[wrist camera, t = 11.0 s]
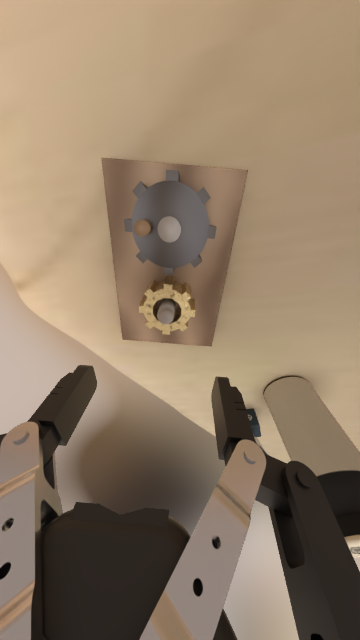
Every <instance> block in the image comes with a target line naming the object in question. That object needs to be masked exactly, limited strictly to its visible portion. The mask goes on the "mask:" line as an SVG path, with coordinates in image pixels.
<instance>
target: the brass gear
mask: <svg viewBox="0 0 360 640" xmlns="http://www.w3.org/2000/svg"><path fill="white" fill-rule="evenodd" d="M144 294H145V295H144V297H143V299H142V301H141V302H140V304H139V313H144V316H145V317H146V319H147V320H146V323H145V325H146V326H147V327H149V328H150V329H151V328H152V327H156V328H157V329H159V330H163V333H162V334H166V335H170V331H174V330H177V329H180V330H181V331H184V330H185V329H187V328H188V320H189V319H190V317H195V311H196V309H195V299H191V298H192V297H191V287H190V286H189V285H188V284H187V283H185V284H183V285H181V284H180V283H178V282H177V281H174V276H166V279H165V280H163V281H161V282H159V283H157V282H156V281H155V280H153V281H152V282H151V283H150V284H149V285H148V287H147V289H146V291H145V293H144ZM163 298H169V299H173V300H174V301H176V302H178V303H179V305H180V307H179V309H178V310H175V313H174V319H173V321H172V322H171V323H169V324H162V323H160V322H159V320H158V318H157V314H158V310H159V305H158V304H157V301H158V300H160V299H163Z"/></svg>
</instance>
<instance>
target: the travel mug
mask: <svg viewBox="0 0 360 640" xmlns="http://www.w3.org/2000/svg"><path fill="white" fill-rule="evenodd" d="M264 398H265V400H266V403H267V405H268V407H269V410H270V412H271V414H272V417H273V419H274V421H275V424H276V426H277V429H278V431H279V433H280V436H281V438H282V440H283V443H284V445H285V447H286V450H287V452H288V454H289V457H290V459H291V461H299V462H301V463H303V464H305V465H306V466H307V467H309V468H310V469H311V470H312V471H313V472H314V474H315V475H316V477H317V478H318V480H319V482H320V484H321V486H322V489H323V491H324V493H325V495H326V498H327V500H328V502H329V504H330V507H331V509H332V511H333V513H334V516H335V518H336V520H337V522H338V524H339V527H340V529H341V531H342V533H343V536H344V538H345V540H346V542H347V545H348V547H349V549H350V551H351V554H352V556H353V557H356V558H360V452H359V451H358V449H357V448H356V447H355V445H354V444H353V442H352V441H351V440H350V438H349V437H348V436H347V434H346V433H345V432H344V430H343V429H342V427H341V426H340V425H339V423H338V422H337V421H336V419H335V418H334V416H333V415H332V414H331V412H330V411H329V410H328V408H327V407H326V405H325V404H324V403H323V401H322V400H321V399H320V397H319V396H318V395H317V393H316V392H315V390H314V389H313V388H312V386H311V385H310V384H309V382H308V381H307V380H305V379H303V378H299V377H287V378H282V379H279V380H277V381H275V382H273V383H271V384H270V385H269V386H268V387H267V388H266V390H265V392H264Z"/></svg>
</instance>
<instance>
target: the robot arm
mask: <svg viewBox="0 0 360 640" xmlns="http://www.w3.org/2000/svg"><path fill="white" fill-rule="evenodd" d="M96 387H97V380H96V376H95V372H94V368H93V366H87V365H79V366H78V367H77V368H76V370H75V371H74V372H73V373H68V374H67V375H66V376H64V377H63V378H62V379H61V380H60V381H59V382H58V384H57V385H56V386H55V388H54V389H53V390H52V391H51V392H50V394H49V395H48V396H47V398H46V399H45V400H44V401H43V403H42V404H41V405H40V406H39V408H38V409H37V410H36V412H35V413H34V414H33V415H32V417H31V418H30V419H29V420H28V421H27V422H25V423H22V424H20V425H18V426H16V427H14V428H13V429H12V430H11V431H9V432H8V433H7V434H3V435H0V640H237V638H236V636H235V633H234V631H233V629H232V626H231V624H230V622H229V620H228V618H227V616H226V613H225V611H224V609H223V606H224V603H225V600H226V597H227V593H228V590H229V587H230V584H231V581H232V578H233V575H234V572H235V568H236V566H237V562H238V559H239V556H240V553H241V550H242V547H243V544H244V541H245V537H246V534H247V531H248V528H249V524H250V519H251V518H250V514H251V510H252V507H253V504H254V501H255V500H257V501H259V502H261V503H263V504H264V505H266V506H268V507H269V511H270V515H271V520H272V524H273V528H274V533H275V537H276V541H277V546H278V550H279V554H280V559H281V563H282V567H283V572H284V576H285V580H286V585H287V589H288V593H289V597H290V602H291V606H292V610H293V615H294V619H295V623H296V627H297V631H298V636H299V640H360V572H359V570H358V567H357V565H356V563H355V561H354V558H353V556H352V554H351V551H350V549H349V547H348V545H347V542H346V540H345V538H344V536H343V533H342V531H341V529H340V527H339V524H338V522H337V520H336V518H335V516H334V513H333V511H332V509H331V507H330V504H329V502H328V500H327V498H326V495H325V493H324V491H323V489H322V486H321V484H320V482H319V480H318V478H317V477H316V475H315V474H314V472H313V471H312V470H311V469H310V468H309V467H307V466H306V465H305V464H303V463H301V462H299V461H290V462H289V463H288V464H287V463H284V462H282V461H280V460H278V459H275V458H273V457H271V456H269V455H268V454H266V453H265V452H264V451H263V450H262V449H261V448H260V447H259V446H258V444H257V443H256V441H255V438H254V435H253V432H252V428H251V425H250V421H249V418H248V415H247V411H246V408H245V405H244V401H243V398H242V394H241V393H240V392H239V390H238V389H237V387H231V386H230V383H229V379H228V378H227V377H216V378H215V382H214V386H213V390H212V408H213V416H214V424H215V432H216V440H217V448H218V456H219V459H222V460H225V467H226V468H225V470H224V472H223V474H222V476H221V478H220V480H219V482H218V484H217V485H216V487H215V489H214V491H213V493H212V495H211V497H210V499H209V501H208V504H207V505H206V508H205V509H204V511H203V513H202V515H201V518H200V519H199V522H198V523H197V525H196V528H195V530H194V531H193V533H192V535H191V537H190V535H189V534H188V532H187V531H186V530H185V528H184V527H183V526H182V525H181V524H180V523H179V522H178V521H176V520H175V519H174V518H172V517H170V516H169V510H165V509H153V508H144V509H141V510H137V511H134V512H130V513H127V514H123V515H119V514H117V513H115V512H113V511H111V510H109V509H107V508H106V507H104V506H102V505H100V504H93V503H81V502H76V504H75V506H74V509H72V510H70V511H67V512H65V513H63V510H62V504H61V500H60V496H59V493H58V485H57V474H56V462H55V453H54V452H55V450H56V448H57V446H58V445H64V446H66V445H67V443H68V441H69V439H70V437H71V435H72V433H73V431H74V429H75V428H76V426H77V424H78V422H79V420H80V418H81V416H82V415H83V413H84V411H85V409H86V407H87V405H88V403H89V402H90V400H91V398H92V396H93V394H94V392H95V390H96Z"/></svg>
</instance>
